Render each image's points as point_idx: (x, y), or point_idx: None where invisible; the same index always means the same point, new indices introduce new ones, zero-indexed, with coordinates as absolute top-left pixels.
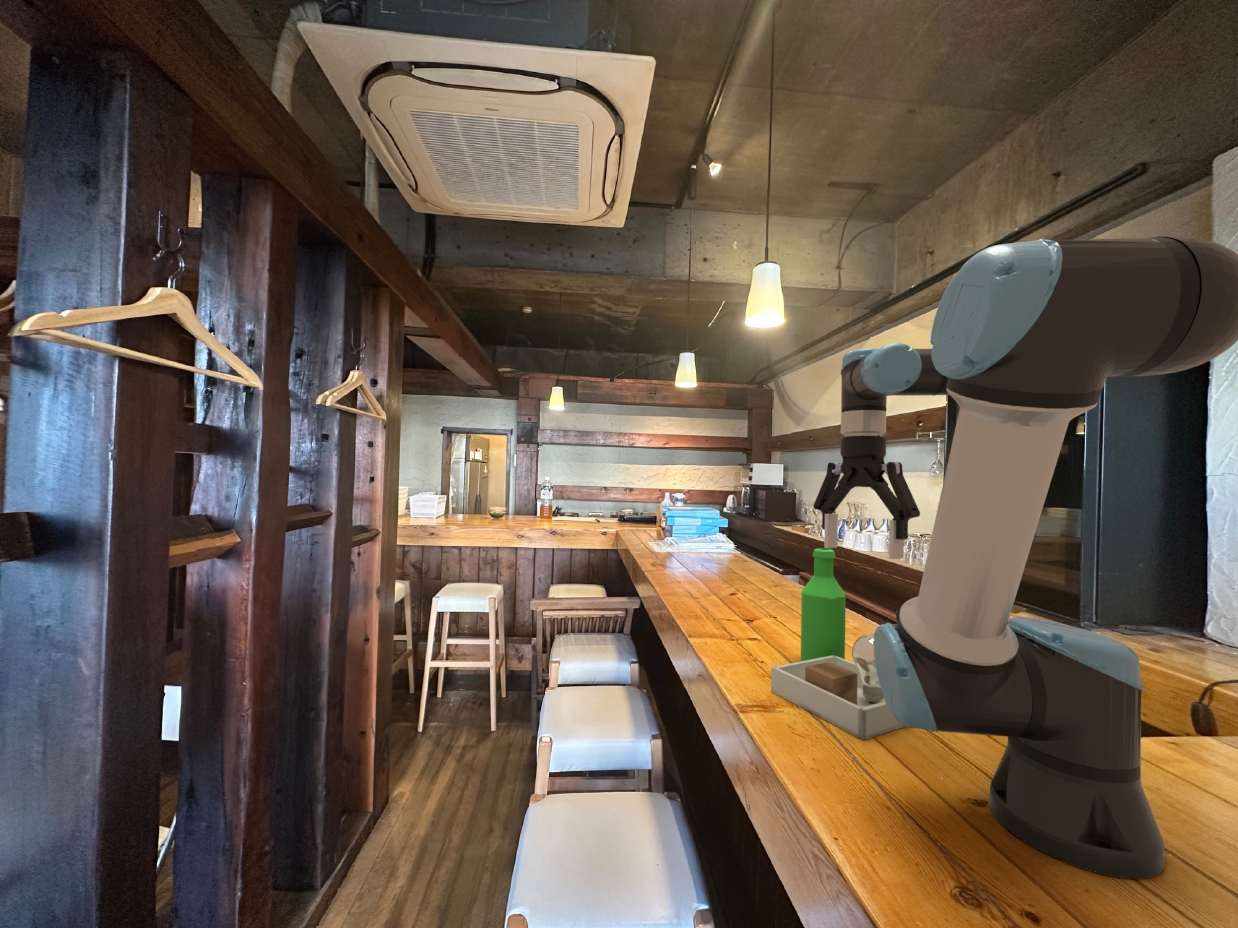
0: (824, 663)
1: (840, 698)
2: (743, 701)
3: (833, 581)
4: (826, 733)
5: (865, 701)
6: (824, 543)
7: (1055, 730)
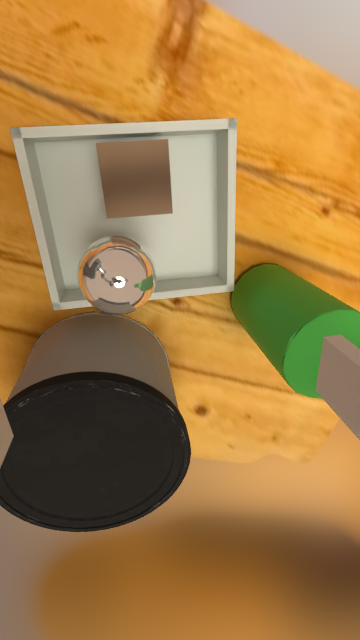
0: (169, 197)
1: (67, 132)
2: (210, 29)
3: None
4: (58, 90)
5: None
6: (351, 343)
7: None
